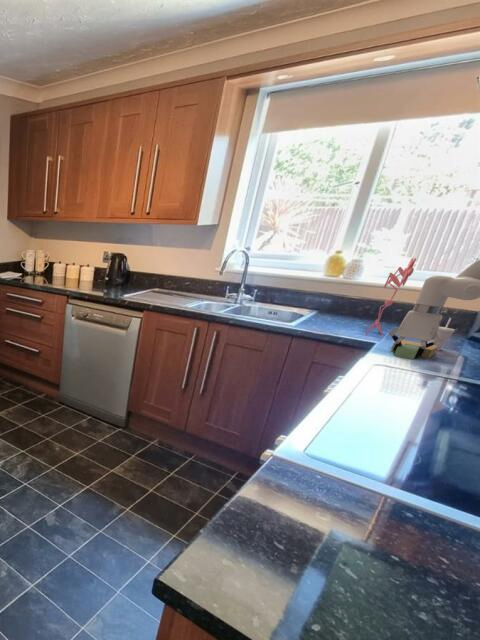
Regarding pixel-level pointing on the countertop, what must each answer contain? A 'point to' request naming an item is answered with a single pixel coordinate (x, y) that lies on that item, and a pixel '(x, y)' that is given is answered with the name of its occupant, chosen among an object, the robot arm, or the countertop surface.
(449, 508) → the countertop surface
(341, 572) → the countertop surface
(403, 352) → the green pad
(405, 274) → the figurine
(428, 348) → the sand pad
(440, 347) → the smoothie
